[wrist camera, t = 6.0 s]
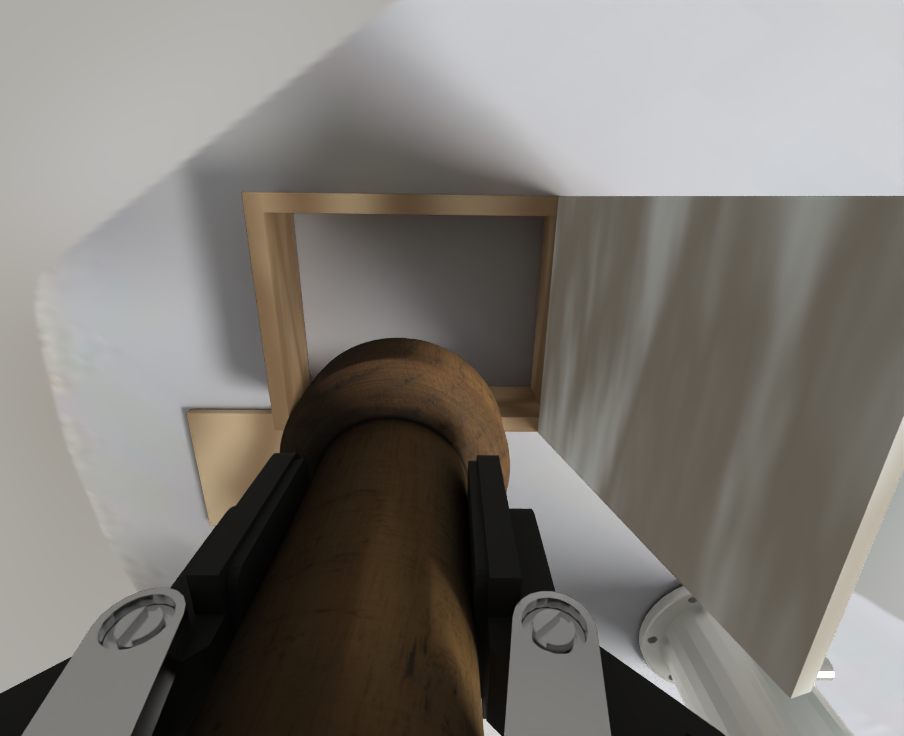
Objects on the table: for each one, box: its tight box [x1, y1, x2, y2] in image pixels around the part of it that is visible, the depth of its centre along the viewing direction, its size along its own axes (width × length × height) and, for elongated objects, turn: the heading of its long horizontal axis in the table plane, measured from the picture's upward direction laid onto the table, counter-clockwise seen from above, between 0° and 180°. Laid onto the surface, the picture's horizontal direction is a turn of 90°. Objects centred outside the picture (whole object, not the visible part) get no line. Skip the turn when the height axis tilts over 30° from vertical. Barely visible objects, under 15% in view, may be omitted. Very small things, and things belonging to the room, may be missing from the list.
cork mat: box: [186, 410, 284, 526], centre depth 35 cm, size 10×10×1 cm
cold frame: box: [241, 192, 904, 699], centre depth 21 cm, size 22×14×22 cm, turn 89°
